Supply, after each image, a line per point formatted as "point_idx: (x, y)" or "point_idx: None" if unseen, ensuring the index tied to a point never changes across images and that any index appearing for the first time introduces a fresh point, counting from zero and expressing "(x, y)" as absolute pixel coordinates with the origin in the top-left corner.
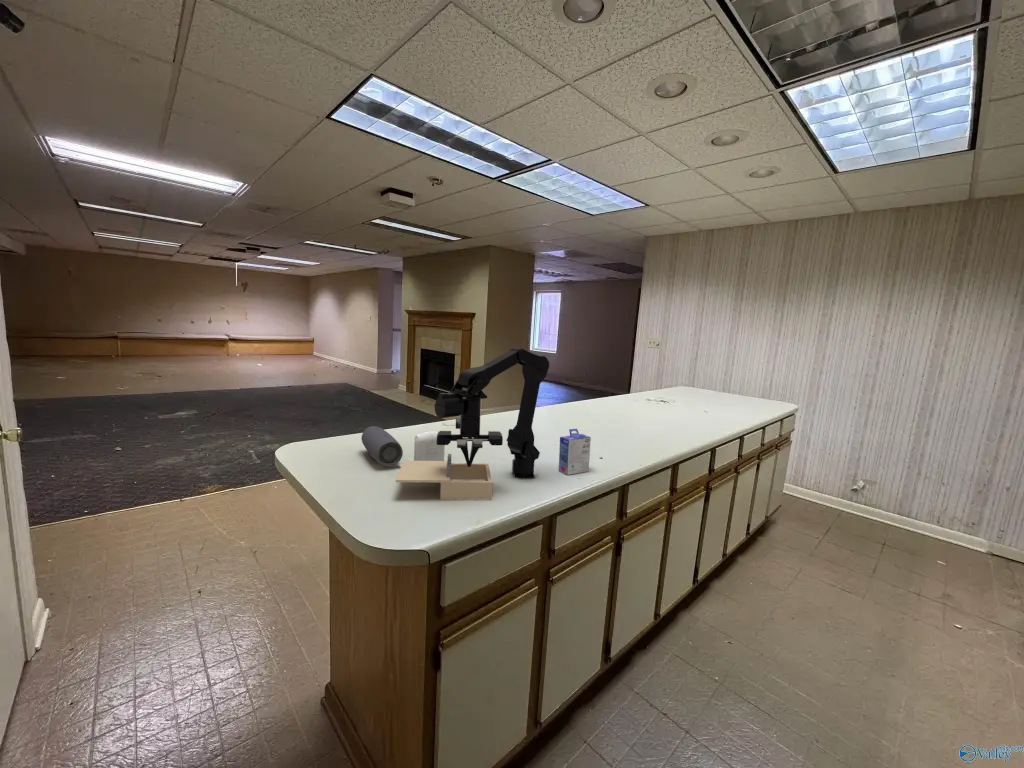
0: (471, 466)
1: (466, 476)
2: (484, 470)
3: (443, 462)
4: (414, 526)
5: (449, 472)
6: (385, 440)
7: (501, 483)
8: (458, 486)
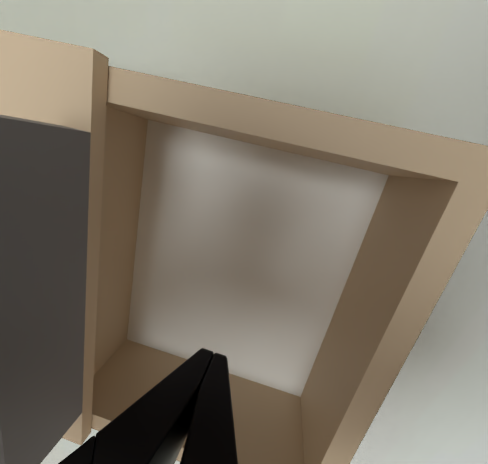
0: (301, 148)
1: (266, 145)
2: (414, 177)
3: (22, 90)
4: (53, 456)
5: (48, 445)
6: None
7: (468, 255)
8: None
